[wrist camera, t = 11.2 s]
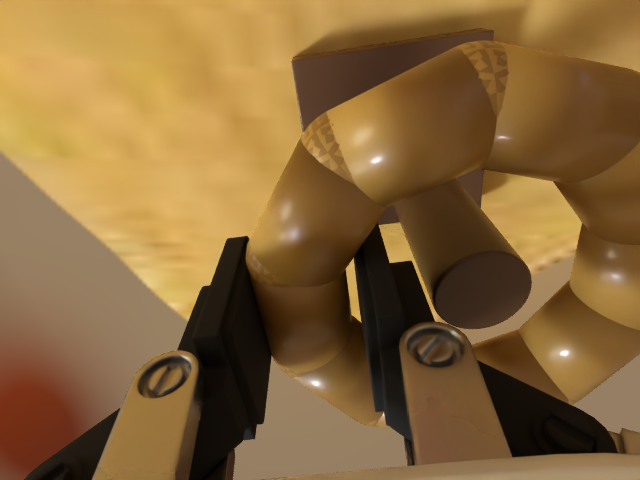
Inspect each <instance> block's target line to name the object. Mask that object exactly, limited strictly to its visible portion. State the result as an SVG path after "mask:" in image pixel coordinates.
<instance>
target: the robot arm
mask: <svg viewBox="0 0 640 480" xmlns="http://www.w3.org/2000/svg"><path fill="white" fill-rule="evenodd" d="M248 242H249V238H248V237H247V236H244V237H236V238H228V239H227V240H226V243H225V246H224V249H223V251H222V254H221V257H220V260H219V263H218V265H217V268H216V271H215V274H214V276H213V279H212V282H211V285H209V286H204V287H202V289H201V291H200V293H199V295H198V298H197V301H196V303H195V306H194V308H193V311H192V314H191V316H190V319H189V321H188V324H187V326H186V329H185V332H184V334H183V337H182V339H181V342H180V344H179V347H178V350H177V351H170V352H167V353H163V354H161V355H159V356H157V357H154V358H153V359H151V360H150V361H148V362H147V363H146V364H144V365H143V366H142V367H141V368H140V369H139V370H138V371H137V372H136V374H135V376H134V377H133V379H132V381H131V383H130V386H129V388H128V391H127V393H126V396H125V398H124V401H123V403H122V406H121V408H119V409H118V410H117V411H115V412H114V413H112V414H111V415H109V416H108V417H107V418H105V419H104V420H102V421H101V422H100V423H98V424H97V425H95V426H94V427H93V428H91V429H90V430H88V431H87V432H85V433H84V434H83V435H81V436H80V437H78V438H77V439H76V440H74V441H73V442H71V443H70V444H68V445H67V446H66V447H64V448H63V449H61V450H60V451H59V452H57V453H56V454H54V455H53V456H52V457H50V458H49V459H47V460H46V461H44V462H43V463H42V464H40V465H39V466H38V467H37V468H36V469H34V470H33V471H32V472H31V473H30V474H29V475H28V476H27V477H26V478H25V479H24V480H233V474H234V464H235V450H234V448H235V447H237V446H238V445H239V444H240V443H241V442H242V441H243V440H250V439H255V434H256V427H257V424H263V422H264V417H265V408H266V399H267V391H268V382H269V372H270V364H271V356H272V354H271V351H270V348H269V344H268V341H267V337H266V333H265V330H264V326H263V323H262V319H261V316H260V312H259V309H258V305H257V302H256V298H255V295H254V291H253V288H252V284H251V280H250V277H249V273H248V269H247V264H246V250H247V244H248ZM354 264H355V273H356V282H357V290H358V299H359V307H360V315H361V321H362V327H363V334H364V341H365V348H366V354H367V361H368V367H369V374H370V381H371V387H372V394H373V400H374V407H375V412H384V415H385V421H386V426H389V427H391V428H392V429H394V430H395V431H397V432H398V433H399V434H401V435H402V436H404V445H405V452H406V459H407V466H404V467H392V468H381V469H370V470H359V471H348V472H336V473H327V474H315V475H305V476H294V477H283V478H272V479H262V480H640V433H638V432H635V431H630V430H627V429H623V428H622V430H621V432H620V434H618V433H615V432H611V431H607V429H606V428H605V427H604V426H603V425H602V424H600V423H599V422H598V421H597V420H596V419H595V418H594V417H592V416H590V415H588V414H587V413H585V412H584V411H582V410H580V409H578V408H576V407H574V406H572V405H570V404H568V403H566V402H564V401H562V400H560V399H557V398H555V397H553V396H551V395H549V394H547V393H545V392H543V391H541V390H539V389H537V388H535V387H533V386H530V385H528V384H526V383H524V382H522V381H520V380H518V379H516V378H514V377H512V376H510V375H508V374H506V373H503V372H501V371H499V370H497V369H495V368H493V367H491V366H489V365H487V364H485V363H483V362H481V361H479V360H477V359H476V356H475V353H474V351H473V348H472V345H471V343H470V341H469V340H468V338H467V336H466V335H465V334H464V333H462V332H461V331H460V330H459V329H457V328H455V327H453V326H451V325H449V324H444V323H441V322H435V320H434V318H433V315H432V312H431V310H430V307H429V305H428V302H427V299H426V297H425V294H424V292H423V289H422V286H421V284H420V281H419V278H418V276H417V273H416V271H415V268H414V265H413V263H412V261H404V262H396V263H389V259H388V256H387V253H386V249H385V246H384V242H383V239H382V236H381V232H380V229H379V225H378V222H377V224H376V225H375V227H374V228H373V229H372V231H371V232H370V234H369V235H368V237H367V238H366V240H365V241H364V243H363V244H362V246H361V247H360V249H359V250H358V252H357V253H356V255H355V256H354Z"/></svg>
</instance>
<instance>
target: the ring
mask: <svg viewBox="0 0 640 480" xmlns="http://www.w3.org/2000/svg"><path fill="white" fill-rule="evenodd" d="M475 169H484V170H490V171H496V172H502V173H507V174H513V175H519V176H525V177H531V178H537V179H543V180H549V181H553V182H554V183H555V185H556V186H557V188H558V189H559V190H560V192H561V193H562V195H563V196H564V197H565V199H566V200H567V202H568V203H569V204H570V206H571V207H572V209H573V210H574V211H575V213H576V214H577V216H578V217H579V218H580V220H581V221H582V227H581V231H580V236H579V240H578V245H577V249H576V254H575V259H574V263H573V268H572V272H571V277H570V280H569V281H568V282H567V283H566V284H565V285H564V286H563V287H562V288H561V289H560V290H558V292H556V293H555V294H554V295H553V296H552V297H551V298H550V299H549V300H548V301H547V302H546V303H545V304H544V305H543V306H542V307H541V308H540V309H539V310H538V311H537V312H536V313H535V314H534V315H533V316H532V317H531V318H530V319H529V320H528V321H526V323H525V324H523V325H522V326H521V327H520V328H519V329H518V330H515V331H512V332H509V333H506V334H503V335H500V336H497V337H494V338H491V339H488V340H485V341H482V342H479V343H476V344H474V345H472V348H473V351H474V353H475V356H476V359H477V360H479V361H481V362H483V363H485V364H487V365H489V366H491V367H493V368H495V369H497V370H499V371H501V372H503V373H506V374H508V375H510V376H512V377H514V378H516V379H518V380H520V381H522V382H524V383H526V384H528V385H530V386H533V387H535V388H537V389H539V390H541V391H543V392H545V393H547V394H549V395H551V396H553V397H555V398H557V399H560V400H562V401H564V402H566V403H568V404H570V405H572V404H575V403H576V402H578V401H579V400H581V399H582V398H584V397H585V396H586V395H587V394H589V393H590V392H591V391H593V390H594V389H595V388H597V387H598V386H599V385H600V384H602V383H603V382H604V381H606V380H607V379H608V378H609V377H611V376H612V375H613V374H615V373H616V372H617V371H618V370H620V369H621V368H622V367H624V366H625V365H626V364H627V363H629V362H630V361H631V360H633V359H634V358H635V357H636V356H638V355H639V354H640V72H637V71H634V70H632V69H628V68H624V67H619V66H614V65H609V64H604V63H599V62H594V61H589V60H585V59H580V58H575V57H570V56H565V55H560V54H555V53H550V52H545V51H541V50H536V49H531V48H526V47H521V46H516V45H511V44H506V43H501V42H496V41H485V40H483V41H474V42H467V43H464V44H461V45H459V46H456V47H454V48H452V49H450V50H448V51H446V52H444V53H442V54H440V55H438V56H436V57H434V58H432V59H430V60H428V61H426V62H424V63H422V64H420V65H418V66H416V67H414V68H412V69H410V70H408V71H406V72H404V73H402V74H400V75H398V76H396V77H394V78H392V79H390V80H388V81H386V82H384V83H382V84H380V85H378V86H376V87H374V88H372V89H370V90H368V91H366V92H364V93H362V94H360V95H358V96H356V97H354V98H352V99H350V100H348V101H346V102H344V103H342V104H340V105H338V106H336V107H334V108H332V109H330V110H328V111H326V112H324V113H323V114H321V115H320V116H318V117H317V118H316V119H315V120H314V121H313V122H312V123H311V124H310V125H309V126H308V127H307V129H306V130H305V132H304V133H303V135H302V136H301V138H300V140H299V142H298V144H297V146H296V148H295V150H294V152H293V154H292V156H291V158H290V160H289V162H288V164H287V166H286V168H285V170H284V171H283V173H282V175H281V177H280V179H279V181H278V183H277V185H276V187H275V189H274V191H273V193H272V195H271V197H270V199H269V201H268V203H267V205H266V207H265V209H264V211H263V213H262V215H261V216H260V218H259V220H258V222H257V224H256V226H255V228H254V230H253V232H252V234H251V236H250V239H249V242H248V244H247V250H246V264H247V269H248V273H249V277H250V280H251V284H252V288H253V291H254V295H255V298H256V302H257V305H258V309H259V312H260V316H261V319H262V323H263V326H264V330H265V333H266V337H267V341H268V344H269V348H270V351H271V354H272V357H273V359H274V361H275V362H276V364H277V365H278V366H279V368H280V369H281V370H282V371H283V372H284V373H286V374H287V375H288V376H290V377H291V378H293V379H294V380H296V381H297V382H299V383H300V384H302V385H303V386H305V387H306V388H308V389H309V390H311V391H312V392H314V393H315V394H317V395H318V396H319V397H321V398H322V399H324V400H326V401H327V402H328V403H330V404H331V405H333V406H335V407H336V408H337V409H339V410H340V411H342V412H343V413H345V414H346V415H348V416H349V417H351V418H352V419H354V420H355V421H357V422H359V423H361V424H364V425H368V426H373V427H384V428H391V427H389V426H386V421H385V415H384V412H375V407H374V400H373V394H372V387H371V381H370V374H369V367H368V361H367V354H366V348H365V341H364V334H363V327H362V323H361V322H360V321H358V320H357V319H356V318H355V317H354V316H352V315H351V307H350V299H349V292H348V284H347V276H346V268H347V266H348V265H349V263H350V262H351V260H352V259H353V257H354V256H355V255H356V253H357V252H358V250H359V249H360V247H361V246H362V244H363V243H364V241H365V240H366V238H367V237H368V235H369V234H370V232H371V231H372V229H373V228H374V227H375V225H376V224H377V222H378V221H379V219H380V218H381V216H382V215H383V213H384V212H385V210H386V209H387V207H390V206H392V205H394V204H397V203H399V202H401V201H404V200H406V199H408V198H411V197H413V196H415V195H417V194H420V193H422V192H424V191H427V190H429V189H431V188H434V187H436V186H438V185H441V184H443V183H445V182H448V181H450V180H452V179H455V178H457V177H459V176H462V175H464V174H466V173H468V172H471V171H473V170H475Z"/></svg>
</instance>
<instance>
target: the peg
mask: <svg viewBox="0 0 640 480" xmlns="http://www.w3.org/2000/svg"><path fill="white" fill-rule="evenodd" d="M493 33H494V31H493V30H489V29H482V28H480V29H473V30H467V31H460V32H454V33H447V34H441V35H434V36H428V37H421V38H415V39H408V40H402V41H395V42H389V43H382V44H376V45H369V46H363V47H356V48H350V49H343V50H337V51H330V52H324V53H317V54H311V55H304V56H298V57H293V59H292V68H293V74H294V80H295V86H296V93H297V99H298V105H299V111H300V117H301V124H302V130H303V133H304V132H305V130H306V129H307V127H308V126H309V125H310V124H311V123H312V122H313V121H314V120H315V119H316V118H317V117H318V116H320V115H321V114H323V113H324V112H326V111H328V110H330V109H332V108H334V107H336V106H338V105H340V104H342V103H344V102H346V101H348V100H350V99H352V98H354V97H356V96H358V95H360V94H362V93H364V92H366V91H368V90H370V89H372V88H374V87H376V86H378V85H380V84H382V83H384V82H386V81H388V80H390V79H392V78H394V77H396V76H398V75H400V74H402V73H404V72H406V71H408V70H410V69H412V68H414V67H416V66H418V65H420V64H422V63H424V62H426V61H428V60H430V59H432V58H434V57H436V56H438V55H440V54H442V53H444V52H446V51H448V50H450V49H452V48H454V47H456V46H459V45H461V44H464V43H467V42H474V41H483V40H485V41H493ZM483 170H484V169H475V170H473V171H471V172H468V173H466V174H464V175H462V176H459V177H457V178H455V179H452V180H450V181H448V182H445V183H443V184H441V185H438V186H436V187H434V188H431V189H429V190H427V191H424V192H422V193H420V194H417V195H415V196H413V197H411V198H408V199H406V200H404V201H401V202H399V203H397V204H394V205H392V206H390V207H387V209H386V210H385V212H384V213H383V215H382V216H381V218H380V219H379V221H378V225H382V224H390V223H397V222H400V223H401V226H402V228H403V231H404V233H405V236H406V238H407V241H408V243H409V246H410V248H411V251H412V253H413V256H414V258H415V261H416V263H417V266H418V268H419V271H420V274H421V276H422V279H423V281H424V284H425V286H426V289H427V291H428V294H429V296H430V299H431V301H432V304H433V306H434V309H435V311H436V312H437V314H438V315H439V316H440V317H441V318H442V319H443V320H445V321H446V322H447V323H449V324H451V325H453V326H456V327H459V328H464V329H481V328H486V327H490V326H493V325H496V324H499V323H501V322H503V321H505V320H507V319H508V318H510V317H511V316H513V315H514V314H515V313H516V312H517V311H518V310H519V309H520V308H521V307H522V306H523V305H524V303H525V302H526V300H527V298H528V296H529V293H530V290H531V283H532V282H531V274H530V271H529V269H528V267H527V265H526V264H525V263H524V261H523V260H522V259H521V258H520V256H519V255H518V254H517V253H516V252H515V250H514V249H513V248H512V247H511V245H510V244H509V243H508V242H507V240H506V239H505V238H504V237H503V236H502V234H501V233H500V232H499V231H498V229H497V228H496V227H495V226H494V224H493V223H492V222H491V221H490V220H489V218H488V217H487V216H486V215H485V213H484V212H483V211H482V210H481V197H482V183H483Z"/></svg>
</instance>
